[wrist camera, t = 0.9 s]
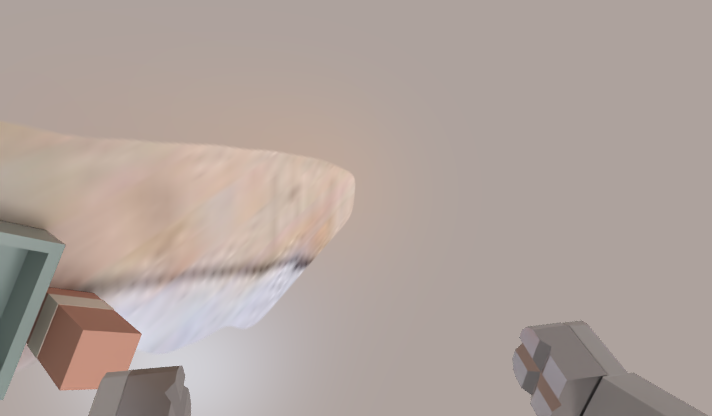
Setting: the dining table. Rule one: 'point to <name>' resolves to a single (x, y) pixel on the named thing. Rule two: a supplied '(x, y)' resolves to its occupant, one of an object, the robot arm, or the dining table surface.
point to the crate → (22, 288)
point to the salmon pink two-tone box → (80, 339)
